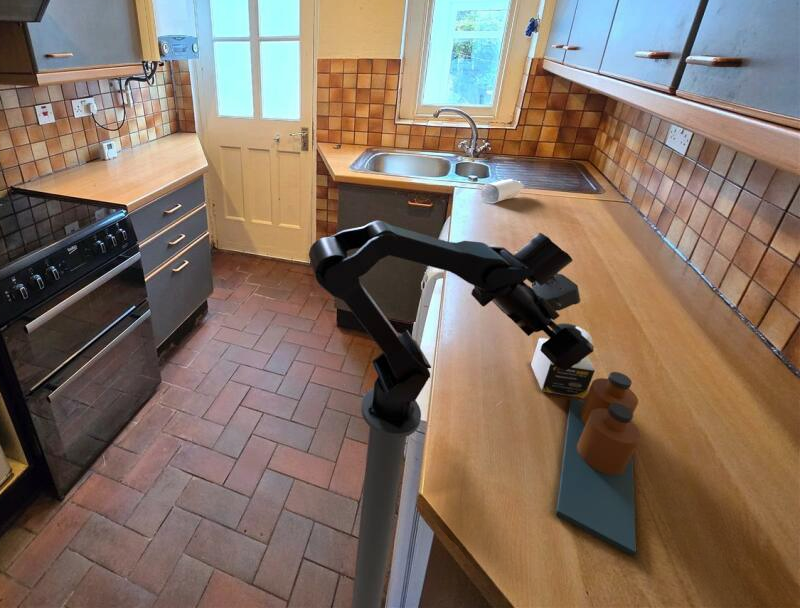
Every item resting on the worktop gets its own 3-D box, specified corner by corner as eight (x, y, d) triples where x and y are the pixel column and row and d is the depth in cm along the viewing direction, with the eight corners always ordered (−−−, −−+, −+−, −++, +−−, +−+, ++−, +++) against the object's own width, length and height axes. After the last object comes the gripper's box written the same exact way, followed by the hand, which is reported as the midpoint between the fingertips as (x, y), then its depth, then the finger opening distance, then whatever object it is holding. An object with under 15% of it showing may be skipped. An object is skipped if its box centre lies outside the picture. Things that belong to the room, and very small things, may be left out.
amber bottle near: (575, 460, 62) (595, 414, 58) (578, 432, 66) (596, 387, 62) (624, 483, 59) (649, 435, 55) (624, 452, 63) (646, 406, 59)
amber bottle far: (578, 426, 68) (596, 381, 63) (581, 402, 72) (598, 359, 68) (624, 445, 64) (646, 399, 60) (623, 419, 69) (644, 374, 65)
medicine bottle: (541, 392, 75) (558, 341, 70) (530, 364, 82) (544, 316, 77) (584, 399, 74) (605, 347, 69) (569, 370, 80) (587, 321, 75)
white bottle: (526, 198, 167) (531, 179, 164) (496, 206, 159) (500, 187, 156) (509, 192, 173) (513, 174, 170) (479, 199, 166) (482, 181, 162)
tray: (555, 514, 56) (557, 510, 56) (569, 400, 74) (571, 396, 73) (633, 556, 51) (636, 552, 51) (628, 424, 69) (630, 420, 68)
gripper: (600, 299, 58) (644, 352, 63) (519, 241, 75) (559, 287, 80) (536, 347, 60) (584, 394, 66) (471, 280, 77) (513, 322, 83)
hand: (559, 344), depth 74 cm, fingers open, 9 cm apart
